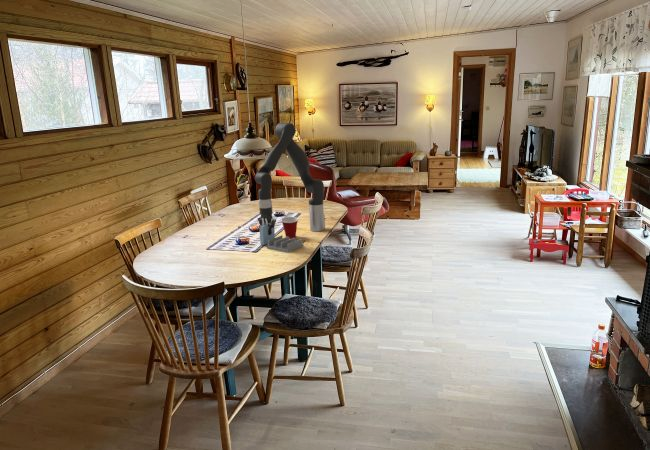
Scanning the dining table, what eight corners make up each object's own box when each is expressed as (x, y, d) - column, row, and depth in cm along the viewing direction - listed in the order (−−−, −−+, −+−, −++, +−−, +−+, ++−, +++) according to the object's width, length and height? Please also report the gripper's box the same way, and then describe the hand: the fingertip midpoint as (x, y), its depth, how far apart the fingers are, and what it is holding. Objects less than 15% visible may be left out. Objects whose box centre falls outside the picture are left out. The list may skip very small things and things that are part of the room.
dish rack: (282, 242, 285) (282, 235, 284) (303, 245, 276) (303, 238, 275) (266, 248, 274) (266, 241, 273) (287, 252, 265) (287, 244, 264)
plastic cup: (284, 240, 287) (282, 221, 284) (280, 236, 298) (279, 217, 295) (301, 238, 290) (300, 219, 287) (297, 234, 300) (296, 216, 297)
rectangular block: (271, 240, 288) (271, 223, 285) (275, 241, 286) (274, 223, 284) (260, 244, 280) (259, 226, 277) (263, 244, 278) (262, 226, 276)
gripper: (278, 206, 277) (280, 234, 281) (261, 204, 285) (263, 231, 289) (270, 208, 271) (272, 237, 276) (252, 206, 279) (255, 234, 284)
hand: (268, 234), depth 282 cm, fingers closed on rectangular block, 2 cm apart
